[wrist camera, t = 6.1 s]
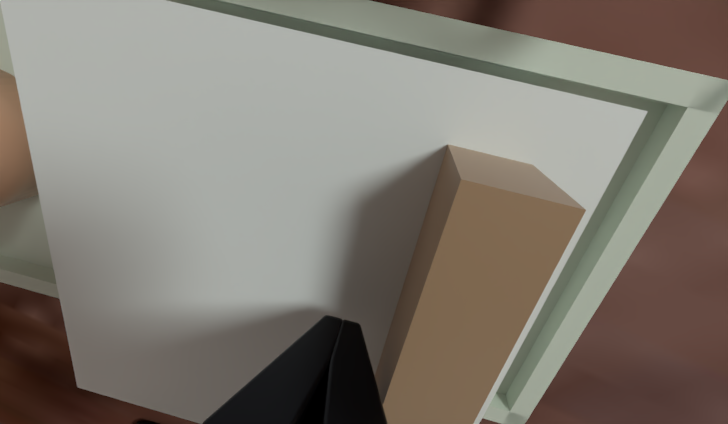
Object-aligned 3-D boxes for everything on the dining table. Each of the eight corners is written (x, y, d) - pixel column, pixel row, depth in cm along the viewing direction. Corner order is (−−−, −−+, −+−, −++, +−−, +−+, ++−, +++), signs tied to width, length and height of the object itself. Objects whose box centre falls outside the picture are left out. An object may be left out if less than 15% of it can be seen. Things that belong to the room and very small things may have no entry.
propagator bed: (512, 396, 16) (521, 429, 14) (-54, 238, 17) (-97, 254, 16) (692, 80, 10) (738, 82, 9) (-174, -114, 12) (-259, -140, 10)
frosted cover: (434, 373, 15) (445, 596, 8) (170, 300, 15) (1, 458, 9) (551, 93, 10) (772, 135, 4) (161, 2, 10) (-208, -90, 4)
